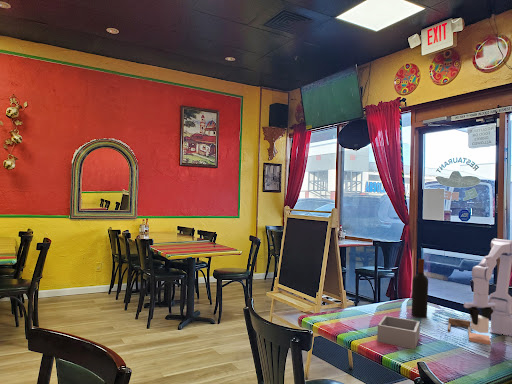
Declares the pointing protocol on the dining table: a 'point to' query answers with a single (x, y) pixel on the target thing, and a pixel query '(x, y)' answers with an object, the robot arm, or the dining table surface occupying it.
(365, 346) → the dining table surface
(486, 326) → the block
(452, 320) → the frame
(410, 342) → the box
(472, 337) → the tile
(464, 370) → the dining table surface
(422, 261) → the wine bottle
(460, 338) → the dining table surface
